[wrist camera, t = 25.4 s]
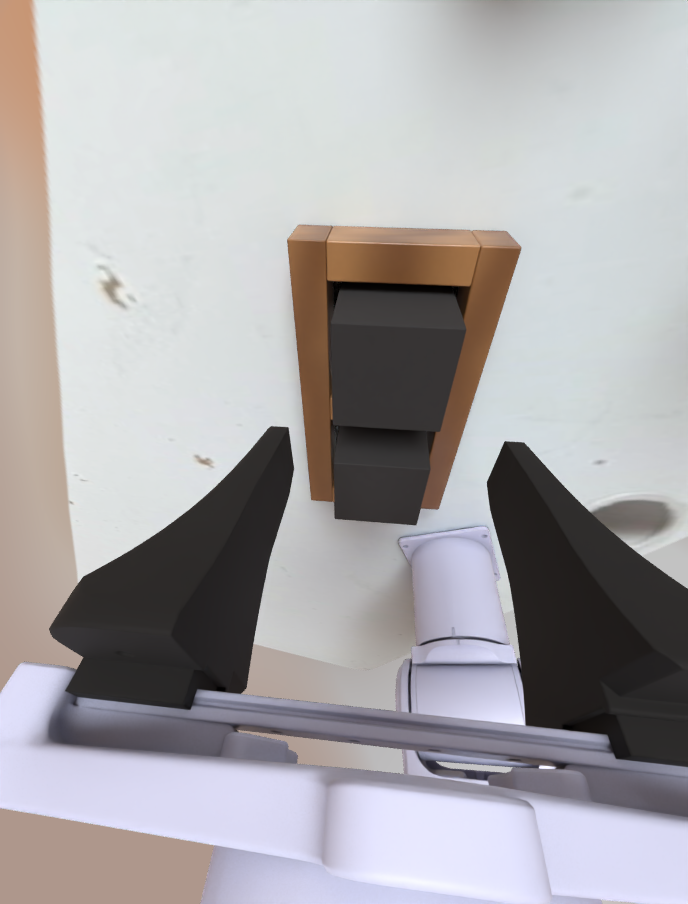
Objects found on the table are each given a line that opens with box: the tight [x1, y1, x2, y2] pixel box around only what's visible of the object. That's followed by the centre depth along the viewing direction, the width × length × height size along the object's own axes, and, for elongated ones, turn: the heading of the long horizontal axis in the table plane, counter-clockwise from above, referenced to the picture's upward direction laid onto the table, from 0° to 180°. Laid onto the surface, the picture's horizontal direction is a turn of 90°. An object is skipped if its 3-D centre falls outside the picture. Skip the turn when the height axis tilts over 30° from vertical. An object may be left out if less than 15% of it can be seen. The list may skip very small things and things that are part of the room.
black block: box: [331, 282, 467, 432], centre depth 17 cm, size 5×5×6 cm
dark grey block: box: [334, 426, 431, 525], centre depth 23 cm, size 5×5×6 cm
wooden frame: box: [287, 225, 521, 509], centre depth 21 cm, size 9×17×2 cm, turn 179°
